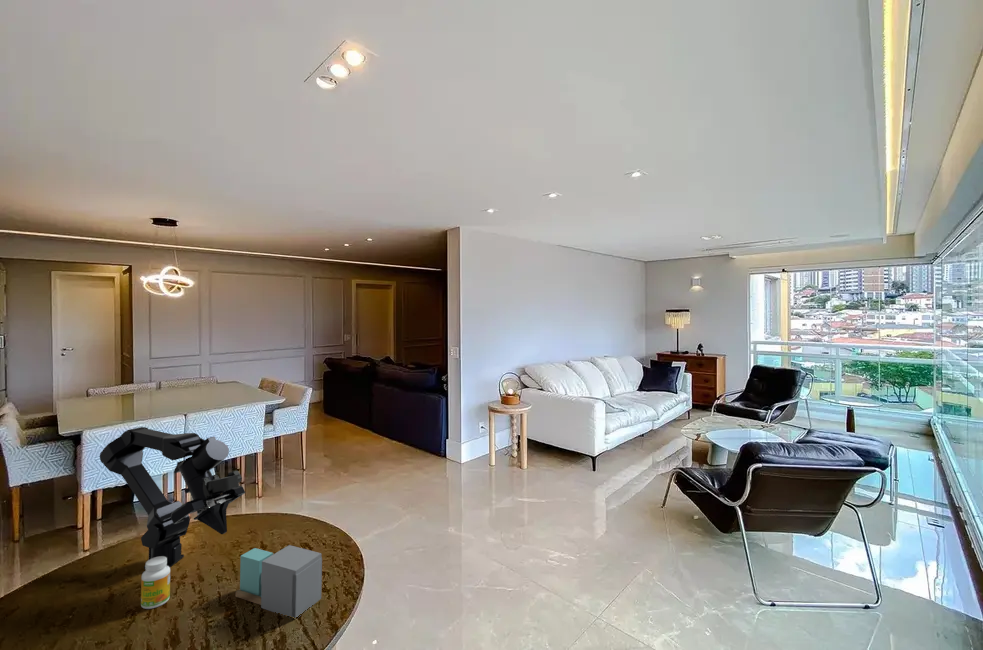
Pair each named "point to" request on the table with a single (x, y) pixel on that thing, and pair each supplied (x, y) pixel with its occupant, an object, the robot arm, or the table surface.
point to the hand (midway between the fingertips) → (224, 533)
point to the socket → (291, 581)
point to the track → (248, 596)
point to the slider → (252, 570)
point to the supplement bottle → (155, 583)
